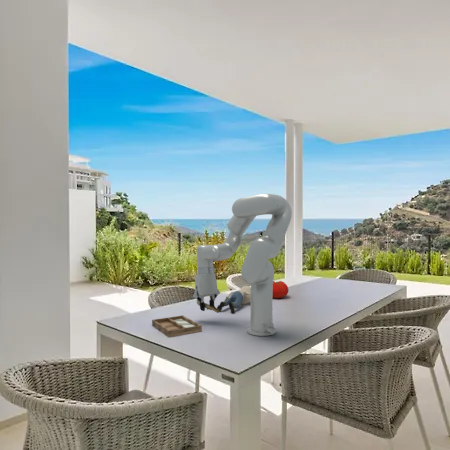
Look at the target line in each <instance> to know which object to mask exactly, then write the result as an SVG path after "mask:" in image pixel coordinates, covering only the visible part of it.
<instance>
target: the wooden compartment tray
mask: <svg viewBox="0 0 450 450" xmlns="http://www.w3.org/2000/svg"><path fill="white" fill-rule="evenodd" d="M151 325H152V327H154V328H155V329H156V330H158V331H159V332H161V333H163V335H165V336H166V337H168V338H172V337H179V336H183V335H189V334H194V333H201V332H202V331H203V325H201V324H199V323H198V322H196V321H193V320H192V319H190V318H188V317H186V316H184V315H179V316H177V315H176V316H169V317H163V318H162V317H161V318H156V319H152V320H151Z"/></svg>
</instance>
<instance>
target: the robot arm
mask: <svg viewBox="0 0 450 450" xmlns="http://www.w3.org/2000/svg"><path fill="white" fill-rule="evenodd" d="M231 211H232V217H231V218H230V219H229V220H228V222H227V224H226V225H227V229H228V230H229V234H228V235H227V238H225V240H224V242H223V243H218V244H212V245H210V244H201V245H197V246H196V259H197V260H196V263H197V274H195V278H194V279H195V280H194V293H193V294H192V298H194V299H196V301H197V300H198V301H199V302H200V306H199V309H200V310H201V311H203V312H205V311H206V308H205V303H206V302H205V300H204V299H205V296H209V301H208V302H209V303H208V305H212V306H215V301H216V299H217V298H218V296H219V295H220V294H221V292H220V290H219V289H218V282H217V277H216V274H215V271H216V270H217V268H216V267H214V262H218V261H219V262H220V261H223V260H228V259H229V258H231V257H233V255H234V253H235V252H236V251H237V250H238V248H239V247H240V245H241V243H242V239H243V235H244V233H245V232H247V231H246V230H248V228H249V227H250V225H251V224H252V223H253V221H254V219H256V217H257V216H263V215H271V218H270V220H269V221H268V223H267V225H266V229H265V231H264V233H263V236H261V237H256V238H255V239H254V240H252V242H251V243H250V245H249V247H248V250H247V252H246V255H245V258H244V260H243V263H242V266H241V270H240V271H241V278H242V280H243V282H245V283H246V284H249V285H250V287H251V296H250V302H249V303H250V326H249V327H247V328H246V332H247V334H249V335H252V336H258V337H266V336H267V337H268V336H273V335H275V334H276V333H277V329H278V328H276V327H274V326H275V325H274V324H275V323H274V322H273V297H272V296H273V281H274V277H275V268H274V265H273V263H272V262H271V261H269V260H270V259H274V258H276V257H277V256H278V255H279V253H280V251H281V249H282V248H281V247H282V246H283V243H284V240H285V237H286V235H287V231H288V229H289V226H290V224H291V220H292V208H291V205H290V203H289V202H288V200H286V198H284V197H283V196H281V195H278V194H275V193H274V194H272V193H271V194H270V193H260V194H254V195H251V196H246V197H240V198H238V199H236V200H235V201H234V202H233V204H232V207H231ZM204 302H205V303H204Z"/></svg>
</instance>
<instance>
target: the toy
mask: <svg viewBox="0 0 450 450" xmlns="http://www.w3.org/2000/svg"><path fill="white" fill-rule="evenodd" d="M250 296H251V286H250V285H244V286H242V287H241V289H237V290H234V291H231V292H230V293H229V294H228V296H226V297H225V299H224V300H223V301H220V303H219V305H217V306H216V308H217V309H218V310H220V311H221V312H222V311H223V308H225V307H227V306H228V308H229V310H230V313H231V314H232V315H234V314H236V311H235V310H236V309H235V308H238V307H239V306H240V305H243V306H244V305H245V306H246V305H247V304H248V303H250Z"/></svg>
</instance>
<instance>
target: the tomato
mask: <svg viewBox="0 0 450 450" xmlns="http://www.w3.org/2000/svg"><path fill="white" fill-rule="evenodd" d="M288 294H289V287H288V285H287V283H285V282H284V281H283V280H279V281H274V280H273V296H272V299H282V298H285V297H286V296H287V295H288Z"/></svg>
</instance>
